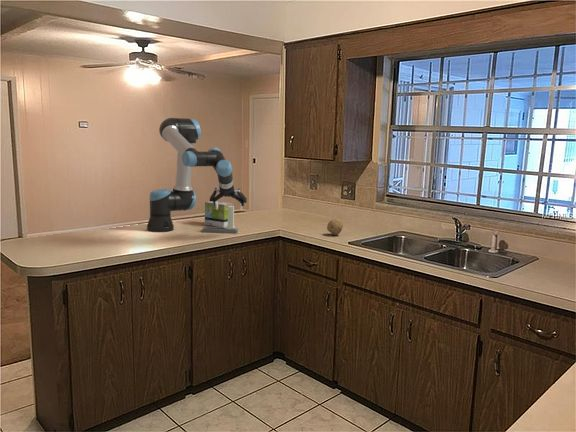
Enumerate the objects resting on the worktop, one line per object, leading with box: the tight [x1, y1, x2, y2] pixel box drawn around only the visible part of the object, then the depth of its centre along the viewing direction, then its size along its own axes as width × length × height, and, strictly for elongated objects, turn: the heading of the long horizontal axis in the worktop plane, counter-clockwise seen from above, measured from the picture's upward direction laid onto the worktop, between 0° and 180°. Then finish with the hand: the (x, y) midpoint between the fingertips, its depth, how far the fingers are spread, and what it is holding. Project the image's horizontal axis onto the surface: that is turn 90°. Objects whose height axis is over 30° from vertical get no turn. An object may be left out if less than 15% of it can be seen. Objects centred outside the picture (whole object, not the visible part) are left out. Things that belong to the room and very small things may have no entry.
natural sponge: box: [326, 218, 344, 236], centre depth 276 cm, size 9×9×10 cm
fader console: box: [201, 226, 239, 235], centre depth 274 cm, size 20×6×2 cm, turn 89°
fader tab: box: [226, 205, 236, 229], centre depth 272 cm, size 5×4×13 cm
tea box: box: [204, 200, 234, 228], centre depth 293 cm, size 15×10×15 cm, turn 62°
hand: (229, 208), depth 263 cm, fingers open, 13 cm apart
